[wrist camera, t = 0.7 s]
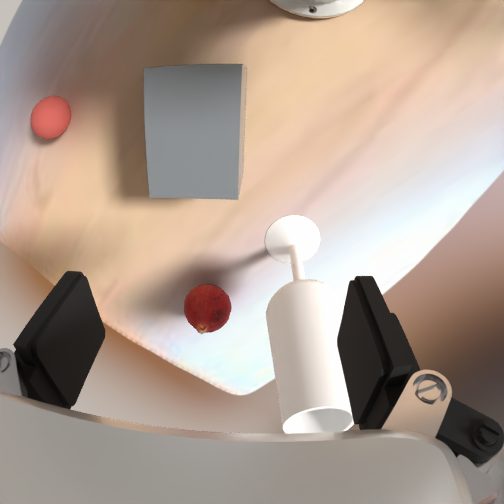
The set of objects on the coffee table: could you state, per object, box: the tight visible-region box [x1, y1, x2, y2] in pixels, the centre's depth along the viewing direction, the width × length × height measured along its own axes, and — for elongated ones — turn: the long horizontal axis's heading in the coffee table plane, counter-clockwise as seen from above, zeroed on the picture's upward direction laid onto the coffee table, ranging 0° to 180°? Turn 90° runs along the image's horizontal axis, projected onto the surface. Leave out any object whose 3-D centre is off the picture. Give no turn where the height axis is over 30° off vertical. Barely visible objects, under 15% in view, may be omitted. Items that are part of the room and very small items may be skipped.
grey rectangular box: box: [144, 64, 247, 200], centre depth 28 cm, size 11×8×9 cm
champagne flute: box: [265, 215, 354, 434], centre depth 28 cm, size 7×7×24 cm
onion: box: [184, 285, 231, 334], centre depth 39 cm, size 6×6×8 cm
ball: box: [31, 96, 71, 139], centre depth 28 cm, size 5×5×5 cm
